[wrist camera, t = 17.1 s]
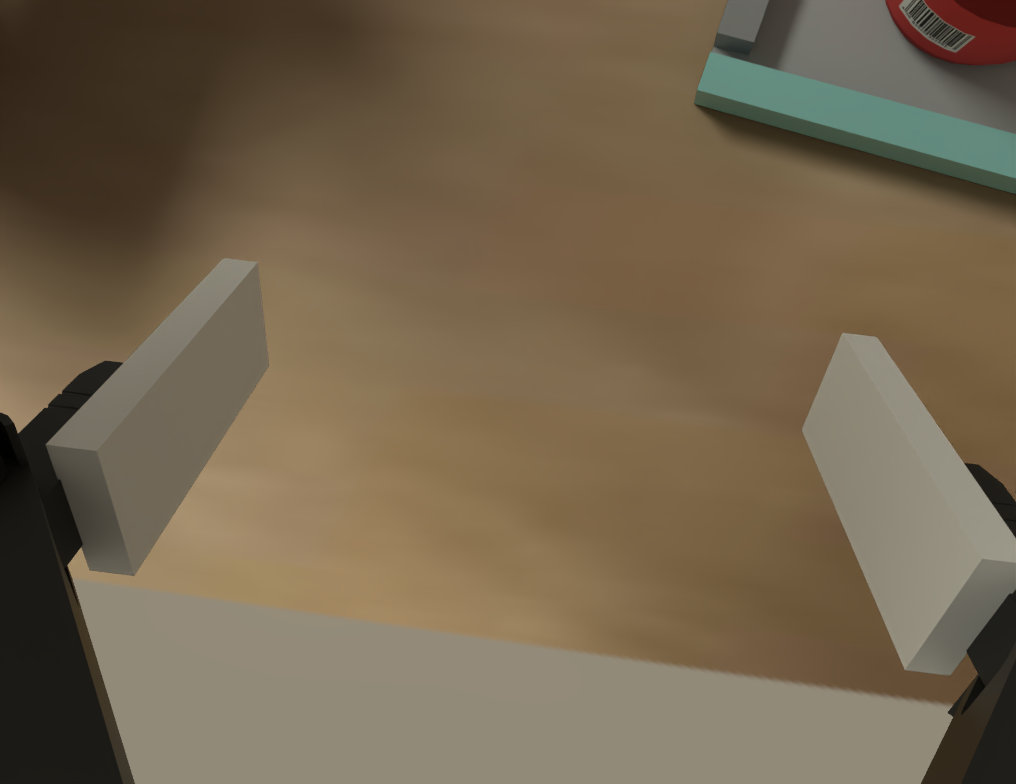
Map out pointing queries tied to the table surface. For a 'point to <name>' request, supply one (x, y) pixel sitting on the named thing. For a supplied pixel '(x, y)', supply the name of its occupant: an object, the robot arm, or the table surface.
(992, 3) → the canned food
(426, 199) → the table surface
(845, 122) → the tray with upright backboard
